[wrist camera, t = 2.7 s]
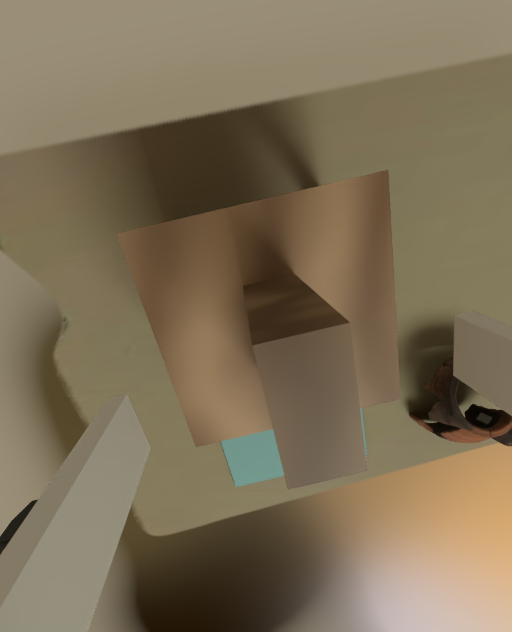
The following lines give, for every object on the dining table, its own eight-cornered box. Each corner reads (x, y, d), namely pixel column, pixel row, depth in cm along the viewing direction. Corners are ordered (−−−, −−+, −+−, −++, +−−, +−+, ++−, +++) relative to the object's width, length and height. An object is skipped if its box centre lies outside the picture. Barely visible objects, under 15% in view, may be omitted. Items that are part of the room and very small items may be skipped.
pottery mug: (383, 411, 35) (428, 421, 27) (411, 343, 37) (460, 334, 29) (471, 460, 34) (544, 485, 26) (494, 389, 36) (568, 393, 28)
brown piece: (321, 191, 25) (555, 116, 7) (340, 334, 30) (508, 513, 12) (165, 227, 25) (-9, 248, 7) (209, 365, 30) (172, 593, 12)
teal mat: (353, 342, 31) (354, 343, 30) (365, 454, 36) (367, 456, 36) (200, 378, 31) (200, 379, 30) (235, 484, 36) (235, 487, 36)
